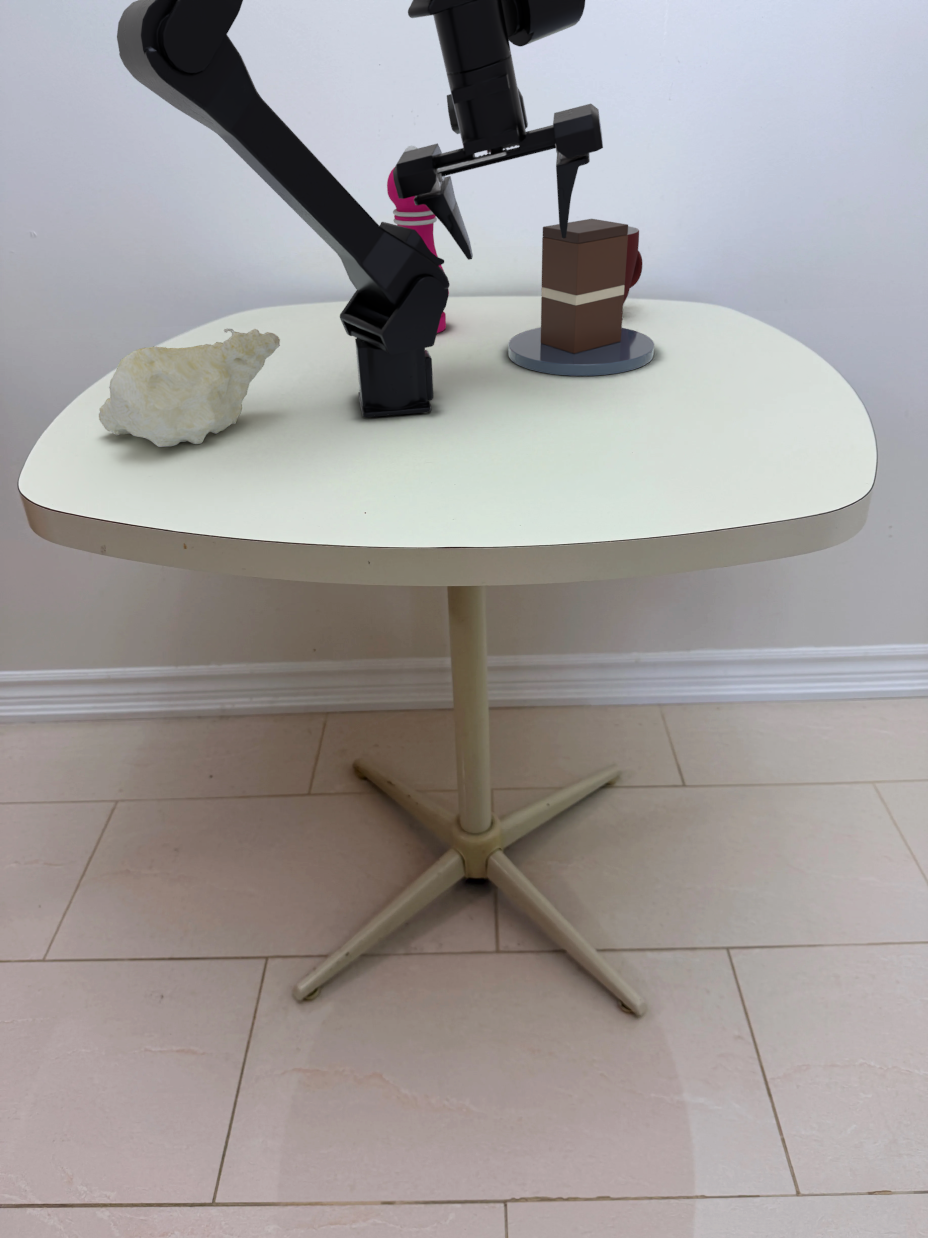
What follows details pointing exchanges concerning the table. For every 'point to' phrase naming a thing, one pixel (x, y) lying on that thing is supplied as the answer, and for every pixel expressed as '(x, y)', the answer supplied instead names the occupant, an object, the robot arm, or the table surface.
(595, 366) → the plate
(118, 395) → the white seashell
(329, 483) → the table surface
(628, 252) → the mug
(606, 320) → the cake slice
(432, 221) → the pepper mill
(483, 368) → the table surface
